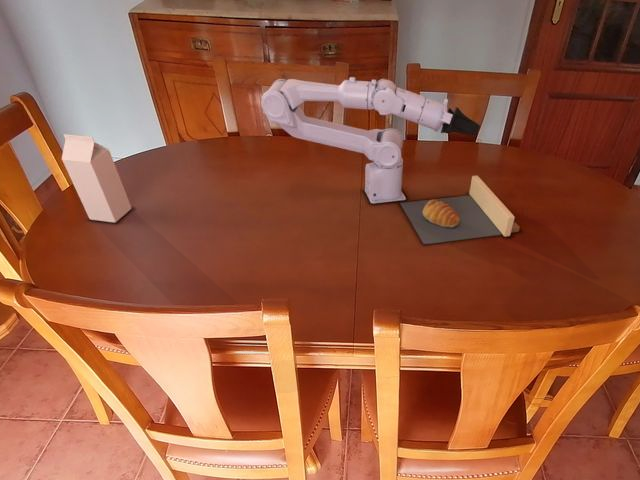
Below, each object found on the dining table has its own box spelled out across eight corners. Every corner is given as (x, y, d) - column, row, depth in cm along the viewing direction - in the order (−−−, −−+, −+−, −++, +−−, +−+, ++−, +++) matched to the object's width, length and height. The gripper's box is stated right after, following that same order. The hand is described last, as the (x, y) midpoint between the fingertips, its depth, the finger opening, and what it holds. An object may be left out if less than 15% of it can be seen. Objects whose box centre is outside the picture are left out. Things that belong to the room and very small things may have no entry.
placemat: (423, 244, 107) (424, 244, 107) (399, 203, 121) (399, 202, 121) (501, 234, 111) (501, 234, 111) (469, 195, 124) (469, 195, 124)
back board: (504, 236, 110) (508, 217, 107) (469, 193, 125) (472, 175, 122) (521, 234, 111) (526, 215, 107) (484, 192, 126) (487, 174, 122)
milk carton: (115, 223, 112) (82, 143, 99) (89, 220, 113) (52, 140, 100) (132, 209, 117) (102, 131, 104) (106, 206, 118) (73, 128, 105)
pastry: (465, 222, 114) (467, 208, 112) (447, 232, 111) (449, 218, 108) (435, 208, 119) (437, 194, 116) (418, 218, 116) (419, 204, 113)
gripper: (431, 89, 100) (488, 111, 102) (424, 94, 113) (475, 113, 115) (419, 124, 103) (476, 144, 105) (414, 124, 116) (464, 143, 118)
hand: (474, 130), depth 110 cm, fingers open, 7 cm apart
